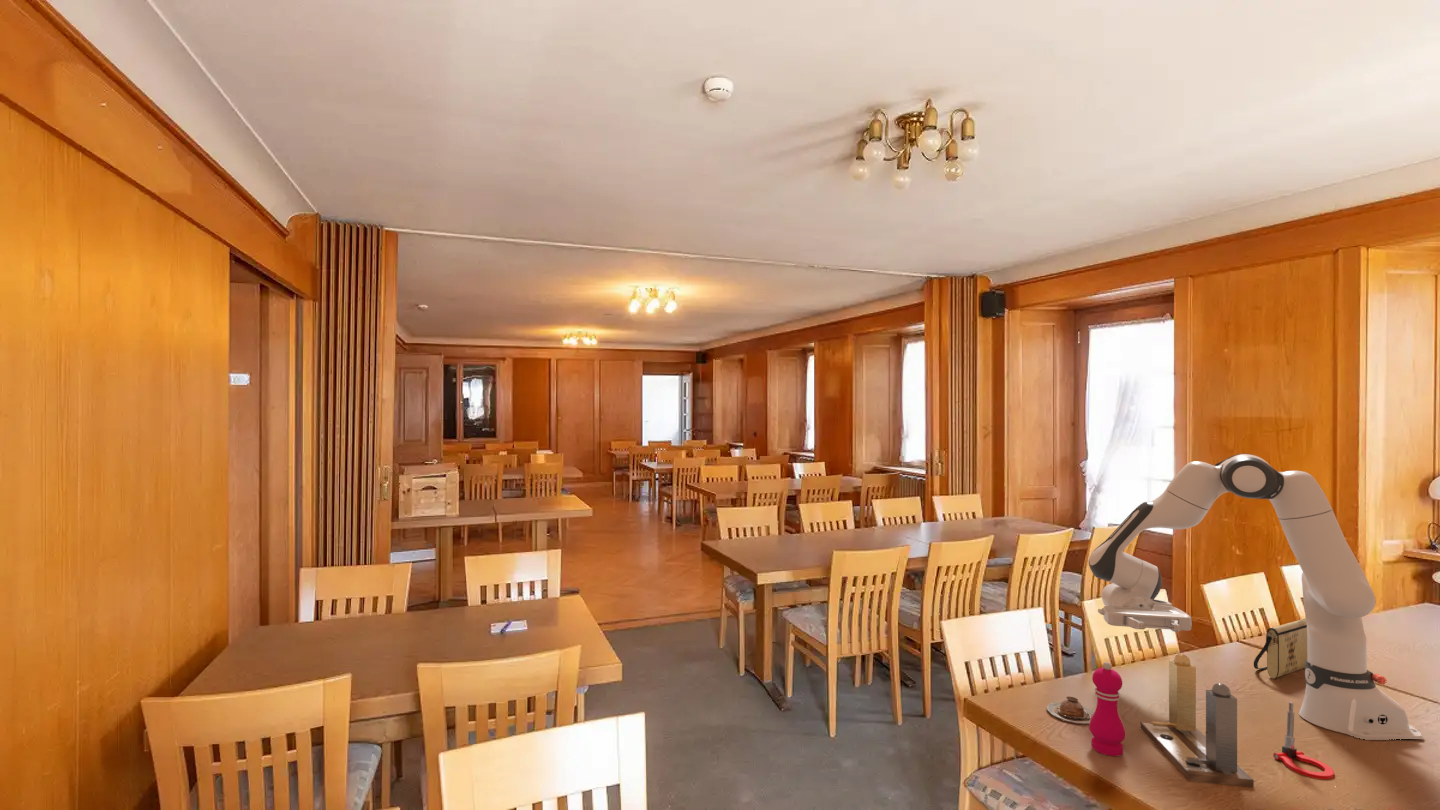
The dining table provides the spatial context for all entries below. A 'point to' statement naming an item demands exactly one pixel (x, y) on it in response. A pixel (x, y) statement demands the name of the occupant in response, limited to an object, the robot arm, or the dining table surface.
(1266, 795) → the dining table surface
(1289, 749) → the tow hook
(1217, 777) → the walnut board
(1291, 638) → the clutch purse
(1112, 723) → the pepper mill
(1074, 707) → the pastry
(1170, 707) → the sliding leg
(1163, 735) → the bolt strip
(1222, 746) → the fixed leg
